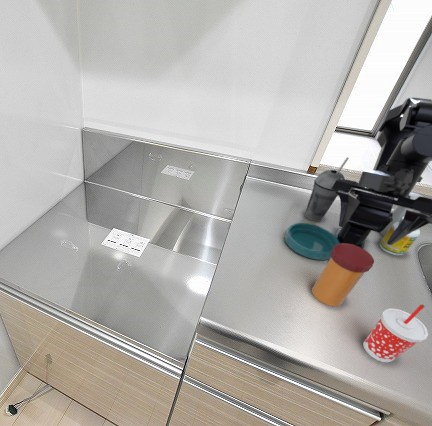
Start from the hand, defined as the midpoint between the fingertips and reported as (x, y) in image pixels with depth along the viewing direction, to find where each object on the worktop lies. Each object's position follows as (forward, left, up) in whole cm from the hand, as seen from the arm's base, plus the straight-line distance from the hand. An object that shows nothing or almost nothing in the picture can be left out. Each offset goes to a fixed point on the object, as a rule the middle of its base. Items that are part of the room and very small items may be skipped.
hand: (363, 235), depth 62 cm
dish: (-9, -7, -14) cm, 18 cm away
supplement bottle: (-21, +10, -14) cm, 27 cm away
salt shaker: (-28, +8, -14) cm, 32 cm away
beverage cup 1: (-24, -9, -14) cm, 29 cm away
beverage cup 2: (+15, +9, -14) cm, 23 cm away
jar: (+7, 0, -14) cm, 15 cm away
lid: (+7, 0, -1) cm, 7 cm away
